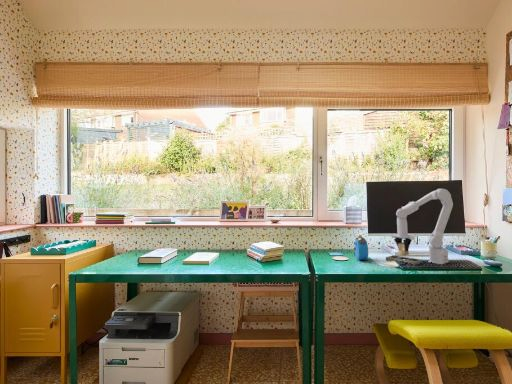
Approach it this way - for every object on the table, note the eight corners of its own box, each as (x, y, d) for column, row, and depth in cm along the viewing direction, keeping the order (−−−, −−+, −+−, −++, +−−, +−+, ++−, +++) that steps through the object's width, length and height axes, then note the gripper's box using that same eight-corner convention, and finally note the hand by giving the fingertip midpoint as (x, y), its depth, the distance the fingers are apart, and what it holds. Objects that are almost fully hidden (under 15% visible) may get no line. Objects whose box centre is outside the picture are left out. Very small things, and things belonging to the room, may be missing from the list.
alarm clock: (369, 261, 222) (367, 238, 222) (359, 262, 222) (357, 238, 222) (364, 257, 235) (363, 235, 235) (354, 257, 235) (353, 235, 235)
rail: (422, 263, 211) (422, 259, 211) (415, 265, 207) (414, 262, 207) (393, 258, 228) (393, 255, 228) (385, 260, 223) (385, 257, 223)
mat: (406, 264, 211) (406, 263, 211) (396, 266, 206) (396, 266, 206) (392, 261, 218) (392, 261, 218) (383, 264, 214) (383, 263, 214)
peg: (408, 254, 216) (407, 243, 216) (404, 255, 214) (404, 244, 214) (402, 253, 220) (402, 242, 220) (398, 254, 218) (398, 243, 217)
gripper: (388, 228, 221) (389, 249, 221) (409, 230, 208) (410, 252, 209) (395, 226, 224) (396, 248, 225) (416, 228, 212) (417, 251, 213)
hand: (403, 250), depth 217 cm, fingers closed on peg, 4 cm apart
